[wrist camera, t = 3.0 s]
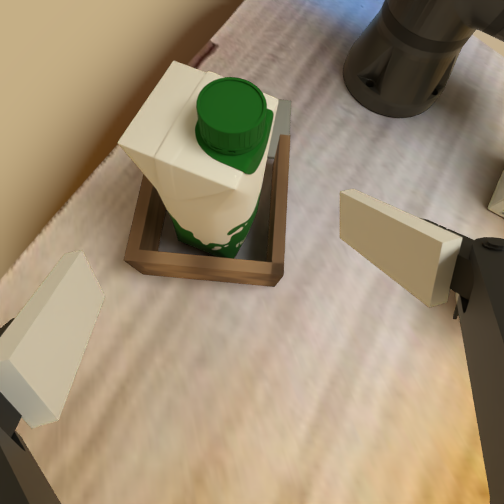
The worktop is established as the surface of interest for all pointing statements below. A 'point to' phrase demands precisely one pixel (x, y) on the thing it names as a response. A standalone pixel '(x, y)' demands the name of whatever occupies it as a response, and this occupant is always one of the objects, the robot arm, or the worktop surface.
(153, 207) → the wooden tray
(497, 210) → the tea box
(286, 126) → the mat
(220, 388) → the worktop surface
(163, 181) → the soya milk
